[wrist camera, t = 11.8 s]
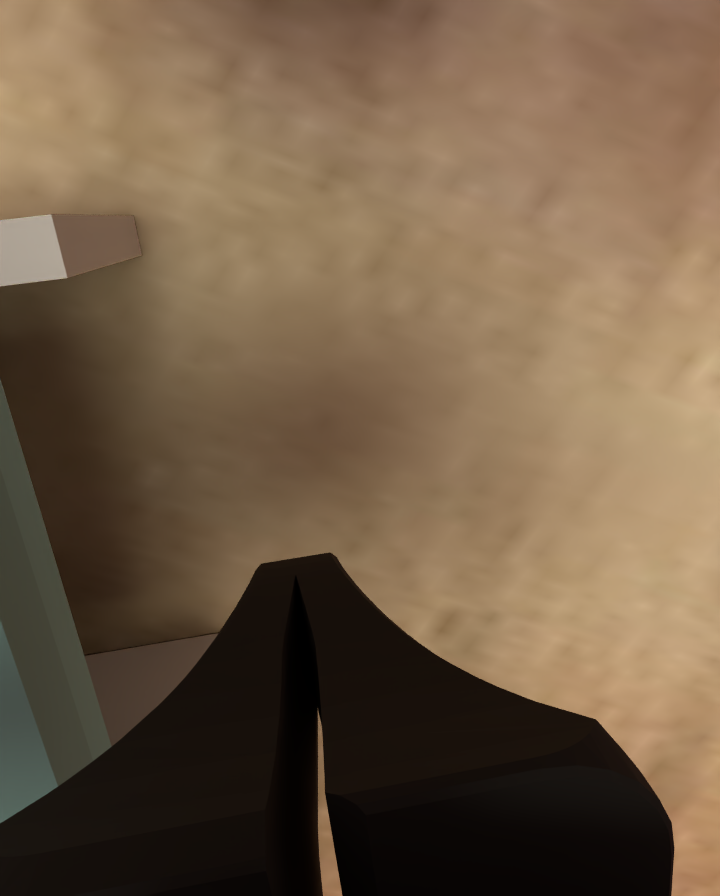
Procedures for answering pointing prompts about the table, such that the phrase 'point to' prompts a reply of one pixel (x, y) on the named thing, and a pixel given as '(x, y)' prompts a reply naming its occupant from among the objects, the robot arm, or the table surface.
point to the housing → (57, 257)
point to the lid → (37, 650)
